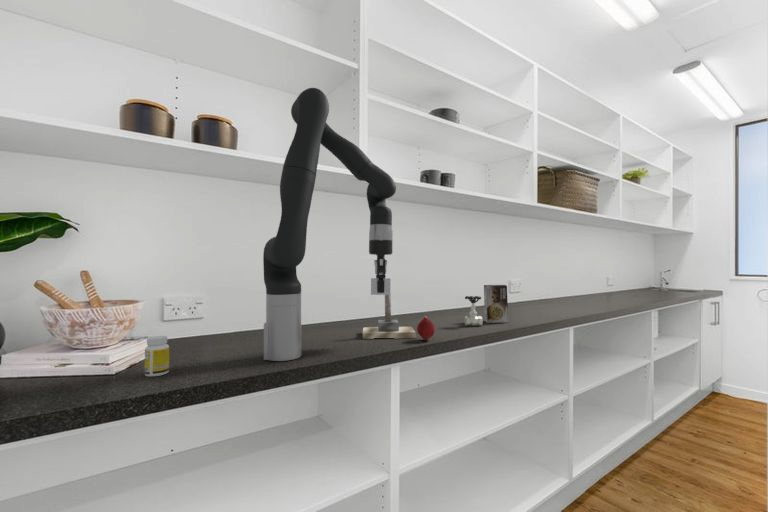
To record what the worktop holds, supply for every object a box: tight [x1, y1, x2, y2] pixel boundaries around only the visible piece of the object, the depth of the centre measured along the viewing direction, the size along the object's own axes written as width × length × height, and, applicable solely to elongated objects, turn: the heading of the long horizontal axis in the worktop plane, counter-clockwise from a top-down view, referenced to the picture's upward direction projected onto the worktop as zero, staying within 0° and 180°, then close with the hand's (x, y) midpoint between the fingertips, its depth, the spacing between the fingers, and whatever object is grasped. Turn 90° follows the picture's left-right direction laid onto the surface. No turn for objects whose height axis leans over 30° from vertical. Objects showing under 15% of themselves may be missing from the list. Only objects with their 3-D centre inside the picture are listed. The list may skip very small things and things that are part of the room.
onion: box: [416, 315, 436, 341], centre depth 117 cm, size 6×6×8 cm
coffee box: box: [483, 284, 509, 324], centre depth 156 cm, size 9×6×16 cm
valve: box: [464, 295, 484, 327], centre depth 145 cm, size 7×7×12 cm
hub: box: [370, 277, 391, 296], centre depth 113 cm, size 6×6×5 cm
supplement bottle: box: [144, 335, 170, 378], centre depth 82 cm, size 5×5×8 cm
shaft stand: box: [362, 292, 417, 340], centre depth 127 cm, size 18×12×15 cm, turn 93°
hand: (380, 291), depth 113 cm, fingers closed on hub, 6 cm apart
